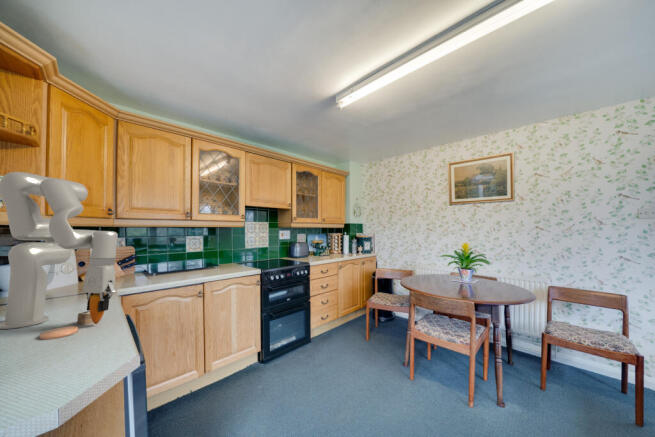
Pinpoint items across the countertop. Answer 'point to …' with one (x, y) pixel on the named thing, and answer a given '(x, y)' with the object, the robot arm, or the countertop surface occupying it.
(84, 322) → the letter cube
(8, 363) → the countertop surface
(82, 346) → the countertop surface
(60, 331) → the peach glossy dome
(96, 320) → the carrot
